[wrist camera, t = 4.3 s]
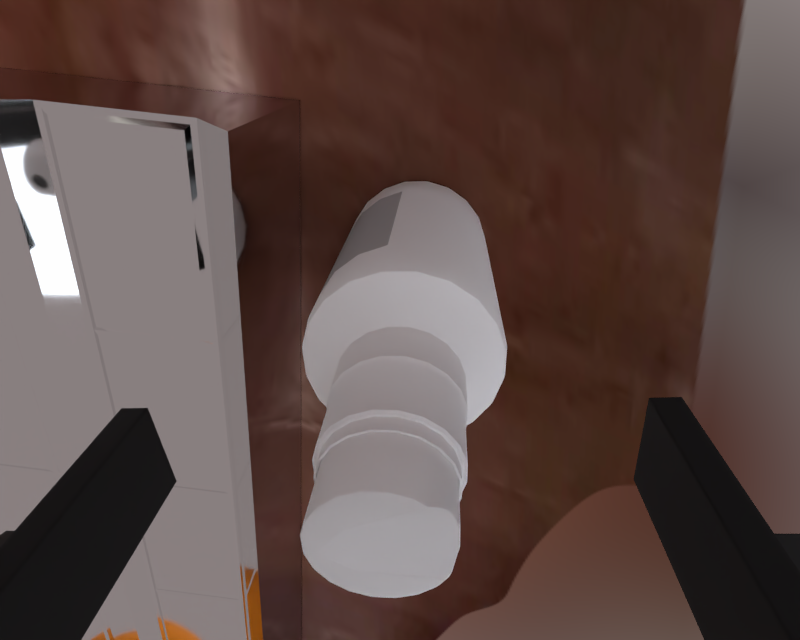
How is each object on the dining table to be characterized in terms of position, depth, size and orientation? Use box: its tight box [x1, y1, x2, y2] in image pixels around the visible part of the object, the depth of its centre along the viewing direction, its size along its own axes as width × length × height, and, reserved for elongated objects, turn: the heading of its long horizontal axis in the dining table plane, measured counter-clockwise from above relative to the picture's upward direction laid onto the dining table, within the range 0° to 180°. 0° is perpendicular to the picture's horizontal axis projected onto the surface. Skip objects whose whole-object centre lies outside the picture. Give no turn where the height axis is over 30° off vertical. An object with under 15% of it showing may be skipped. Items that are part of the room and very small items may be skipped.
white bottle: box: [300, 181, 507, 598], centre depth 18 cm, size 7×7×18 cm
